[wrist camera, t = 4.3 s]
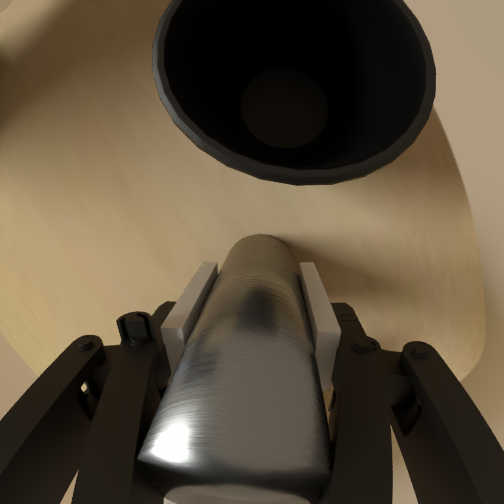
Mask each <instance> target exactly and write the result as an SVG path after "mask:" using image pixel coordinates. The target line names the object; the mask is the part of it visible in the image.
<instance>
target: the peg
mask: <svg viewBox="0 0 504 504" xmlns="http://www.w3.org/2000/svg"><path fill="white" fill-rule="evenodd" d="M136 461H137V463H138V464H139V466H140V467H141V469H142V470H143V472H144V473H145V474H146V476H147V477H148V479H149V480H150V481H151V483H152V484H153V485H154V487H155V488H156V489H157V490H158V492H159V493H160V494H161V496H162V497H163V498H165V499H167V500H169V501H171V502H173V503H176V504H317V502H318V501H319V499H320V497H321V495H322V493H323V491H324V490H325V488H326V486H327V484H328V482H329V480H330V478H331V476H332V445H331V439H330V433H329V427H328V421H327V415H326V409H325V403H324V398H323V392H322V387H321V381H320V376H319V371H318V366H317V361H316V356H315V351H314V346H313V341H312V336H311V331H310V326H309V322H308V317H307V312H306V308H305V303H304V299H303V294H302V290H301V286H300V281H299V277H298V273H297V268H296V264H295V260H294V257H293V255H292V252H291V251H290V249H289V248H288V247H287V246H286V245H285V244H284V243H283V242H282V241H280V240H279V239H277V238H275V237H272V236H269V235H262V234H258V235H251V236H248V237H245V238H243V239H241V240H240V241H238V242H237V243H236V244H235V245H234V246H233V247H232V248H231V250H230V251H229V253H228V255H227V257H226V259H225V262H224V264H223V266H222V268H221V270H220V272H219V274H218V276H217V279H216V281H215V283H214V285H213V287H212V289H211V291H210V293H209V296H208V298H207V300H206V302H205V304H204V306H203V309H202V311H201V313H200V315H199V317H198V319H197V322H196V324H195V326H194V328H193V330H192V333H191V335H190V337H189V339H188V341H187V344H186V346H185V348H184V350H183V352H182V355H181V357H180V359H179V361H178V364H177V366H176V368H175V370H174V373H173V375H172V377H171V379H170V382H169V384H168V386H167V388H166V391H165V393H164V395H163V398H162V400H161V402H160V404H159V407H158V409H157V411H156V414H155V416H154V418H153V421H152V423H151V425H150V428H149V430H148V432H147V435H146V437H145V440H144V442H143V444H142V447H141V449H140V451H139V454H138V456H137V459H136Z"/></svg>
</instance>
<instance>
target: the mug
mask: <svg viewBox="0 0 504 504" xmlns="http://www.w3.org/2000/svg"><path fill="white" fill-rule="evenodd" d="M152 71H153V75H154V79H155V82H156V86H157V90H158V93H159V97H160V100H161V101H162V103H163V105H164V106H165V108H166V110H167V112H168V113H169V115H170V117H171V118H172V120H173V122H174V123H175V125H176V126H177V127H178V128H179V129H180V130H181V131H182V132H183V133H184V134H185V135H186V136H187V137H188V138H189V139H190V140H191V141H192V142H193V143H194V144H195V145H196V146H197V147H198V148H199V149H201V150H202V151H204V152H205V153H207V154H209V155H210V156H212V157H213V158H215V159H216V160H218V161H219V162H221V163H223V164H224V165H226V166H227V167H230V168H233V169H235V170H238V171H240V172H243V173H246V174H248V175H251V176H253V177H256V178H258V179H261V180H267V181H273V182H279V183H285V184H290V185H296V186H302V185H333V184H337V183H341V182H345V181H349V180H353V179H357V178H361V177H365V176H367V175H369V174H371V173H373V172H375V171H376V170H378V169H380V168H382V167H384V166H386V165H388V164H390V163H392V162H393V161H394V160H395V159H396V158H397V157H399V156H400V155H401V154H402V153H403V152H404V151H405V150H406V149H407V148H409V147H410V146H411V145H412V144H413V143H414V141H415V140H416V138H417V137H418V135H419V134H420V132H421V130H422V129H423V127H424V126H425V124H426V122H427V121H428V119H429V115H430V112H431V109H432V105H433V102H434V98H435V92H436V68H435V63H434V59H433V54H432V50H431V47H430V43H429V41H428V39H427V37H426V35H425V33H424V31H423V29H422V27H421V25H420V23H419V21H418V19H417V18H416V17H415V15H414V14H413V13H412V11H411V10H410V9H409V8H408V7H407V5H406V4H405V2H404V1H403V0H172V1H171V2H170V4H169V5H168V7H167V9H166V10H165V12H164V14H163V15H162V17H161V19H160V21H159V25H158V28H157V31H156V34H155V38H154V41H153V56H152Z"/></svg>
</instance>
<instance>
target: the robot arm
mask: <svg viewBox="0 0 504 504" xmlns="http://www.w3.org/2000/svg"><path fill="white" fill-rule="evenodd" d="M217 276H218V268H217V262H203V263H202V265H201V266H200V268H199V269H198V271H197V272H196V274H195V275H194V277H193V278H192V280H191V281H190V283H189V284H188V286H187V287H186V289H185V290H184V292H183V293H182V295H181V296H180V298H179V299H178V301H177V302H170V301H167V302H165V303H164V304H162V305H160V306H159V307H158V308H157V310H156V311H155V313H154V314H153V315H152V316H151V315H150V314H148V313H146V312H138V311H137V312H130V313H127V314H124V315H123V316H121V317H119V318H118V320H117V321H116V322H117V326H118V329H119V333H120V337H121V340H122V341H121V344H120V345H111V346H104V345H103V342H102V340H101V338H100V337H98V336H96V335H84V336H82V337H79V338H77V339H76V340H75V341H73V342H72V343H71V344H70V345H69V346H68V347H67V348H66V349H65V350H64V351H63V352H62V353H61V354H60V355H59V357H58V358H57V359H56V360H55V361H54V362H53V363H52V364H51V365H50V366H49V367H48V368H47V369H46V370H45V371H44V372H43V373H42V374H41V375H40V376H39V378H38V379H37V380H36V381H35V382H34V383H33V384H32V385H31V386H30V387H29V389H28V390H27V391H26V392H25V393H24V394H23V395H22V396H21V398H20V399H19V400H18V401H17V402H16V403H15V404H14V405H13V407H12V408H11V409H10V410H9V411H8V412H7V414H6V415H5V416H4V417H3V418H2V419H1V421H0V504H60V502H61V500H62V499H63V497H64V495H65V493H66V491H67V489H68V488H69V486H70V484H71V482H72V480H73V478H74V477H75V475H76V473H77V471H78V469H79V471H78V475H77V479H76V483H75V488H74V493H73V497H72V502H71V504H164V498H163V497H162V496H161V494H160V493H159V492H158V490H157V489H156V488H155V487H154V485H153V484H152V483H151V481H150V480H149V479H148V477H147V476H146V474H145V473H144V472H143V470H142V469H141V467H140V466H139V464H138V463H137V461H136V459H137V456H138V454H139V451H140V449H141V447H142V444H143V442H144V440H145V437H146V435H147V432H148V430H149V428H150V425H151V423H152V421H153V418H154V416H155V414H156V411H157V409H158V407H159V404H160V402H161V400H162V398H163V395H164V393H165V391H166V388H167V386H168V381H169V379H170V377H171V376H172V375H173V373H174V370H175V368H176V366H177V364H178V361H179V359H180V357H181V355H182V352H183V350H184V348H185V346H186V344H187V341H188V339H189V337H190V335H191V333H192V330H193V328H194V326H195V324H196V322H197V319H198V317H199V315H200V313H201V311H202V309H203V306H204V304H205V302H206V300H207V298H208V296H209V293H210V291H211V289H212V287H213V285H214V283H215V281H216V279H217ZM299 281H300V286H301V290H302V294H303V299H304V303H305V308H306V312H307V317H308V322H309V326H310V331H311V336H312V341H313V346H314V351H315V356H316V361H317V366H318V371H319V376H320V381H321V387H322V391H327V390H330V387H331V382H332V383H333V387H334V390H333V394H332V398H331V403H330V407H329V410H328V411H330V417H329V425H328V427H329V433H330V439H331V445H332V476H331V478H330V480H329V482H328V484H327V486H326V488H325V490H324V491H323V493H322V495H321V497H320V499H319V501H318V502H317V504H392V494H393V492H392V491H393V490H392V489H393V471H392V470H393V469H392V468H393V466H392V442H391V426H392V429H393V431H394V434H395V437H396V439H397V442H398V445H399V447H400V450H401V453H402V456H403V458H404V461H405V464H406V467H407V470H408V473H409V476H410V479H411V482H412V485H413V488H414V491H415V494H416V497H417V501H418V504H504V451H503V449H502V447H501V446H500V444H499V442H498V441H497V439H496V437H495V435H494V434H493V432H492V430H491V429H490V427H489V426H488V424H487V422H486V421H485V420H484V418H483V416H482V415H481V413H480V411H479V410H478V408H477V407H476V405H475V404H474V403H473V401H472V400H471V398H470V396H469V395H468V394H467V392H466V391H465V389H464V388H463V386H462V385H461V383H460V382H459V381H458V379H457V378H456V376H455V375H454V374H453V372H452V371H451V370H450V368H449V367H448V366H447V364H446V363H445V362H444V360H443V359H442V358H441V356H440V355H439V354H438V352H437V351H436V350H435V349H434V348H433V347H432V346H431V345H429V344H427V343H425V342H421V341H412V342H409V343H407V344H405V345H404V347H403V350H402V352H394V351H387V350H383V349H381V347H380V344H379V343H378V342H377V341H376V340H375V339H373V338H371V337H368V336H366V334H365V332H364V330H363V328H362V326H361V324H360V322H359V321H358V318H357V316H356V314H355V312H354V310H353V308H352V307H350V306H349V305H348V304H346V303H330V301H329V299H328V296H327V294H326V291H325V289H324V286H323V284H322V281H321V279H320V276H319V274H318V272H317V269H316V267H315V264H314V262H299ZM84 382H85V384H86V386H87V389H86V390H85V391H84V392H83V391H82V389H81V386H82V385H83V384H84ZM390 424H391V425H390Z"/></svg>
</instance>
